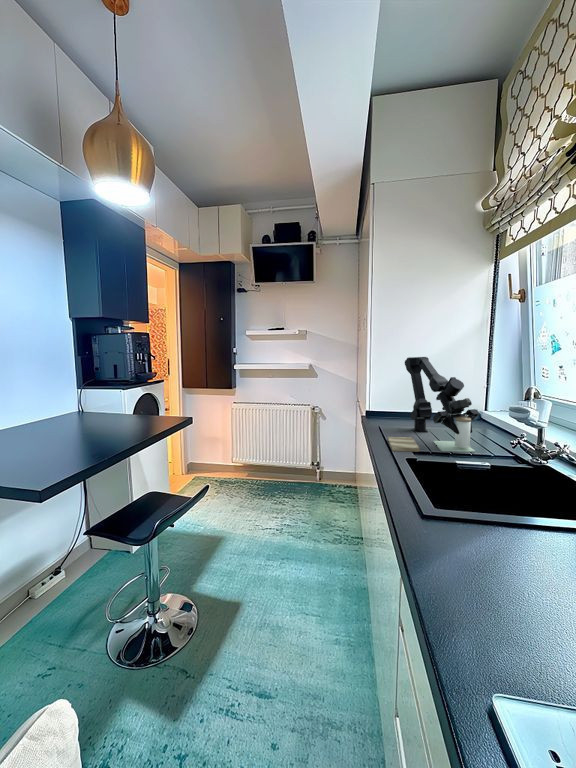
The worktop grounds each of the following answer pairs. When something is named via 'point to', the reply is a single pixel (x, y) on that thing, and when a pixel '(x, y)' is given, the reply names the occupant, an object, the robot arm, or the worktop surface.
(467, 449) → the mat
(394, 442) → the board
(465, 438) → the jar
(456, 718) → the worktop surface
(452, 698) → the worktop surface
